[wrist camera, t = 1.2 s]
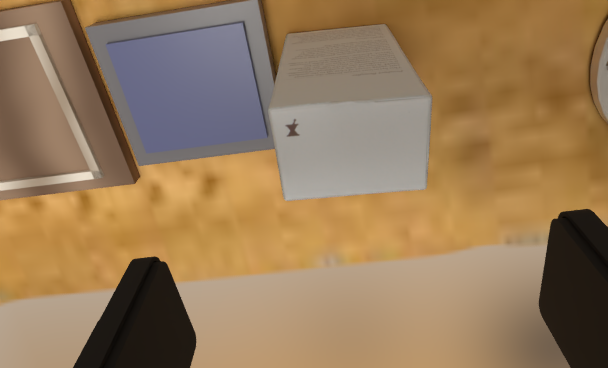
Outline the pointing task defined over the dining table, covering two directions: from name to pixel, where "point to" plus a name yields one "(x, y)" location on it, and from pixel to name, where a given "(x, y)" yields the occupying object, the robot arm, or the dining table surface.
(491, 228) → the dining table surface
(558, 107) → the dining table surface
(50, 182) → the marked board
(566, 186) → the dining table surface
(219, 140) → the ink pad
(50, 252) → the dining table surface
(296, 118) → the skincare box
